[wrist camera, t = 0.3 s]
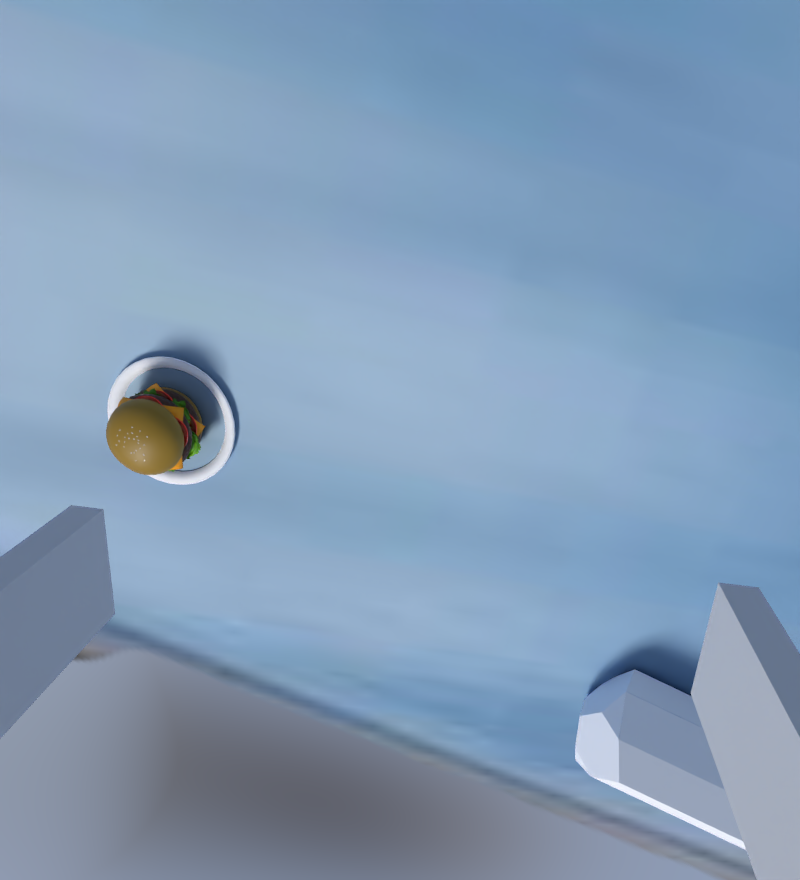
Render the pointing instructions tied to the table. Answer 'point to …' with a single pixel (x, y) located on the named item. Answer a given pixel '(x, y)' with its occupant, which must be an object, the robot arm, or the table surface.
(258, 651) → the table surface
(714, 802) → the crystal
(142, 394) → the hamburger
